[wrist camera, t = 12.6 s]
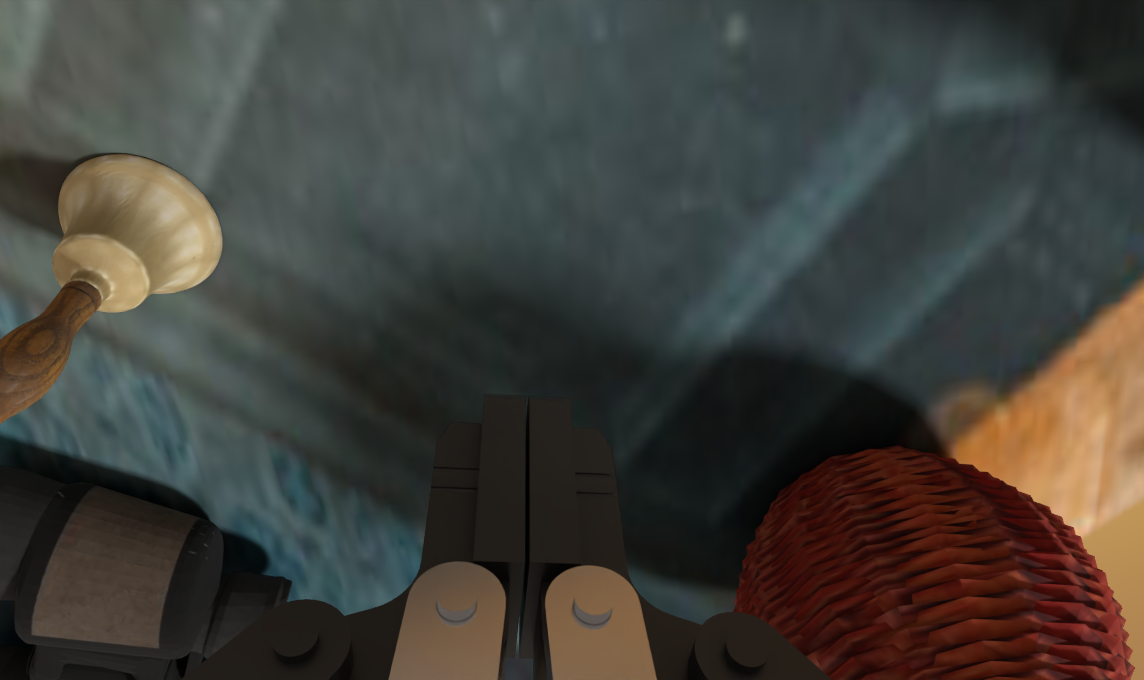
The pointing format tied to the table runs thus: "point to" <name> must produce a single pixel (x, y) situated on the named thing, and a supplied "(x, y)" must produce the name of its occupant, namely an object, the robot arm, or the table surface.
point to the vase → (929, 576)
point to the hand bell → (110, 261)
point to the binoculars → (115, 584)
